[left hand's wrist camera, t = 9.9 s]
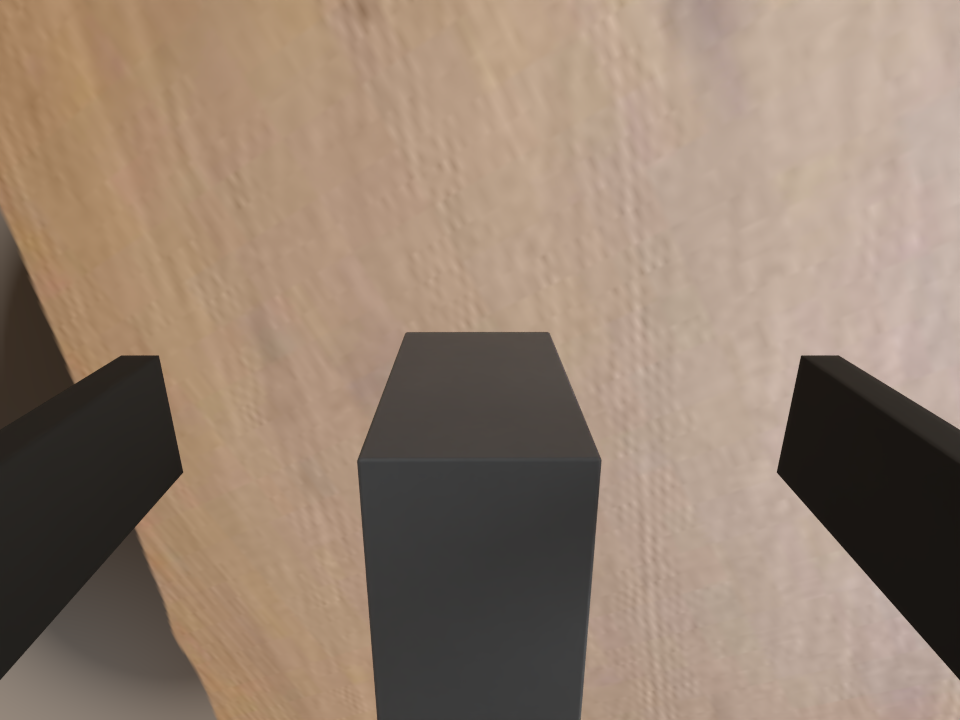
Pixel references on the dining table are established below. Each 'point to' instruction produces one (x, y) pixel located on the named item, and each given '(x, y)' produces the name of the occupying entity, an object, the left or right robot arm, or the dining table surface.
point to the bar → (478, 530)
